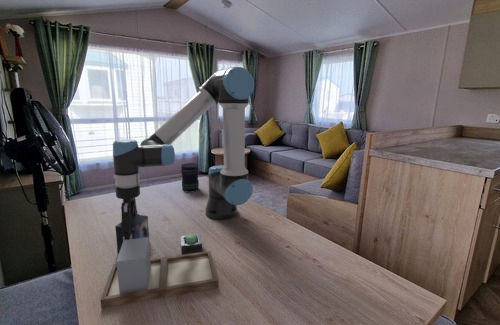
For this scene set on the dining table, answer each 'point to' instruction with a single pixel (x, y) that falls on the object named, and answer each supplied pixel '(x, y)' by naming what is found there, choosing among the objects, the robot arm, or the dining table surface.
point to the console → (191, 245)
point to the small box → (133, 229)
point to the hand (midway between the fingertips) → (131, 242)
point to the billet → (134, 265)
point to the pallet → (166, 279)
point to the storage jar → (190, 177)
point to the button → (191, 238)
